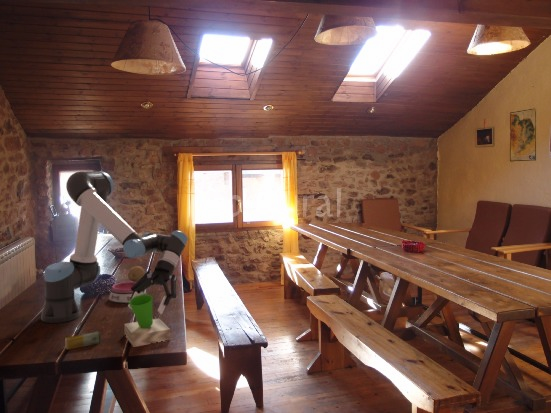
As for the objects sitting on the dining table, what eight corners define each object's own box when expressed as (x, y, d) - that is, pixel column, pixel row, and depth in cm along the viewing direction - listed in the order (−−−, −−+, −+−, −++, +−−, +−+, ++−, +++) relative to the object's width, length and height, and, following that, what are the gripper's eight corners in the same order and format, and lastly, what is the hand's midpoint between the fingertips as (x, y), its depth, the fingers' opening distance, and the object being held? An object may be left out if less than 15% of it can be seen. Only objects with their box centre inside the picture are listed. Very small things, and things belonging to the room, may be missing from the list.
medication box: (98, 341, 179) (98, 330, 178) (100, 343, 177) (100, 333, 176) (65, 348, 172) (64, 337, 172) (66, 350, 170) (66, 339, 169)
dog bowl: (115, 293, 243) (115, 280, 242) (151, 293, 243) (151, 280, 243) (103, 304, 224) (103, 290, 224) (142, 304, 225) (142, 290, 224)
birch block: (133, 348, 173) (133, 335, 173) (124, 336, 185) (124, 323, 185) (170, 341, 181) (170, 329, 180) (159, 330, 192) (159, 318, 192)
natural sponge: (133, 286, 255) (133, 268, 254) (124, 283, 261) (124, 266, 260) (147, 283, 261) (147, 266, 260) (139, 280, 267) (139, 263, 266)
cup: (162, 320, 185) (157, 295, 182) (148, 332, 177) (142, 306, 174) (144, 317, 188) (139, 293, 185) (129, 329, 180) (123, 304, 177)
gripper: (196, 272, 191) (176, 319, 179) (145, 266, 200) (122, 310, 188) (189, 262, 186) (168, 309, 173) (137, 256, 195) (113, 301, 182)
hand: (144, 310), depth 180 cm, fingers open, 13 cm apart
